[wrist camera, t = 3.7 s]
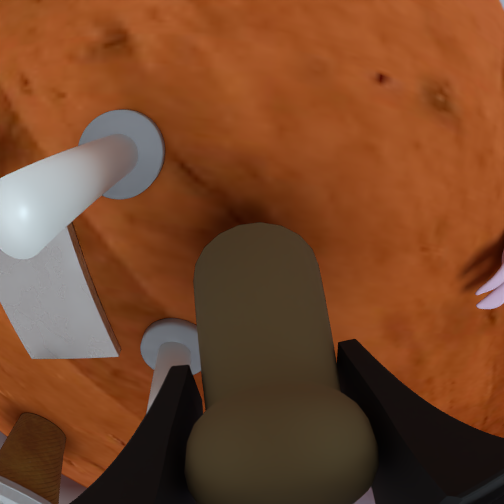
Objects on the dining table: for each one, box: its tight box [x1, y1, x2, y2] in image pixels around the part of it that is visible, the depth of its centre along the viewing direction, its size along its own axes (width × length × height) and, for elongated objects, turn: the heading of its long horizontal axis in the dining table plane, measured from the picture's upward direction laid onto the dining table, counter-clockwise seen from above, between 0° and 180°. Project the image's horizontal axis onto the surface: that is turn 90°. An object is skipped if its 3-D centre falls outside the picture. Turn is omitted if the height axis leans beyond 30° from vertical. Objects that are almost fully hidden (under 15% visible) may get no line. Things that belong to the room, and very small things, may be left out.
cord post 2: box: [141, 318, 201, 414], centre depth 18 cm, size 5×5×11 cm
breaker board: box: [0, 222, 121, 359], centre depth 18 cm, size 14×9×4 cm, turn 7°
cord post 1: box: [0, 110, 165, 259], centre depth 12 cm, size 5×5×11 cm
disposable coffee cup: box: [0, 413, 66, 504], centre depth 23 cm, size 10×10×12 cm
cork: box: [184, 222, 379, 504], centre depth 11 cm, size 6×6×11 cm
